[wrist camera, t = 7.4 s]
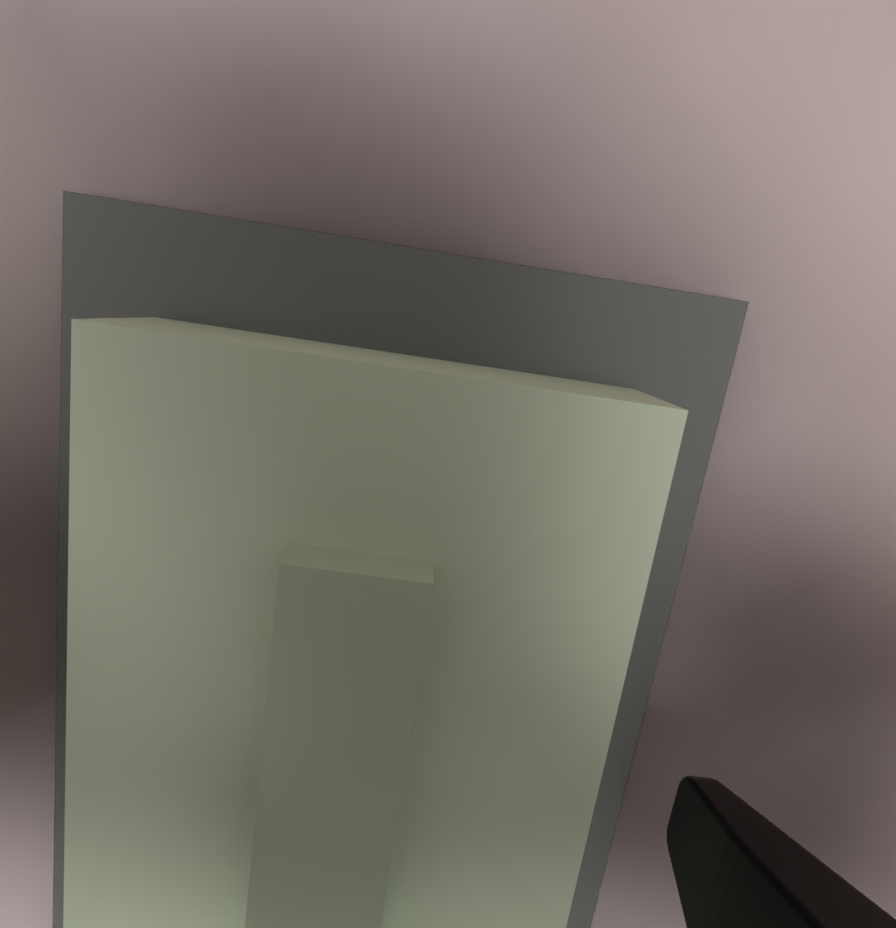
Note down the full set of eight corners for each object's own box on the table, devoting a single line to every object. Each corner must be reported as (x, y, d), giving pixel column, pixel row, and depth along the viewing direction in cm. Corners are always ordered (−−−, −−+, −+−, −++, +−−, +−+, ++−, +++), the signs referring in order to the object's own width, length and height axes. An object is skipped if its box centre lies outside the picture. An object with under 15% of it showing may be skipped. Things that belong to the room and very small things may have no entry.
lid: (156, 317, 8) (34, 319, 6) (633, 389, 9) (711, 419, 6) (129, 930, 11) (34, 1118, 8) (508, 969, 11) (528, 1162, 9)
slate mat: (735, 302, 9) (748, 302, 9) (557, 1016, 12) (562, 1039, 11) (80, 196, 9) (63, 191, 8) (65, 963, 11) (51, 987, 11)
